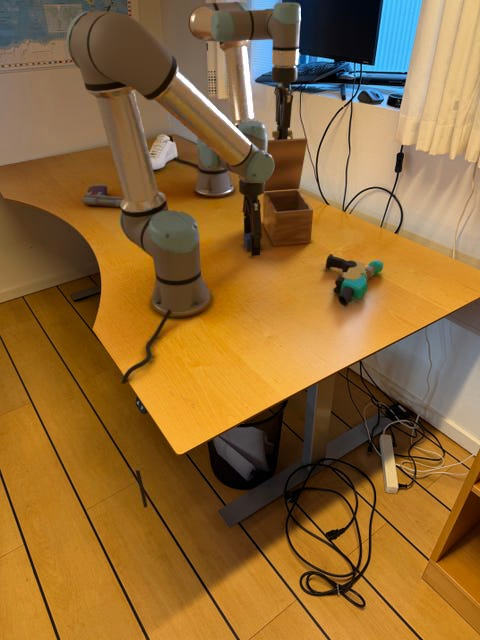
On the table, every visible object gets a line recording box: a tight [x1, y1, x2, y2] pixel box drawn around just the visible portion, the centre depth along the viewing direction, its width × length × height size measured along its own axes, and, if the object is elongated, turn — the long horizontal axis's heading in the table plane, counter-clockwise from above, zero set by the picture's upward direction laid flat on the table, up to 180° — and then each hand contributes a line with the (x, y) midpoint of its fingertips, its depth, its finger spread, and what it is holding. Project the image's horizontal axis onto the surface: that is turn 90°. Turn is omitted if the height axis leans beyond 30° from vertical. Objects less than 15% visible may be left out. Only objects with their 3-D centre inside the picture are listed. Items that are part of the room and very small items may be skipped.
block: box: [243, 233, 252, 252], centre depth 149 cm, size 4×4×4 cm
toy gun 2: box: [325, 253, 385, 307], centre depth 130 cm, size 4×26×15 cm
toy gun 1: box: [81, 184, 124, 208], centre depth 181 cm, size 4×19×15 cm
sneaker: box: [149, 133, 179, 171], centre depth 214 cm, size 10×29×12 cm, turn 163°
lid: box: [264, 129, 308, 192], centre depth 154 cm, size 18×12×8 cm
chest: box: [262, 189, 314, 247], centre depth 156 cm, size 18×12×11 cm
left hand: (251, 245), depth 150 cm, fingers open, 12 cm apart
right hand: (281, 148), depth 153 cm, fingers closed on lid, 2 cm apart
